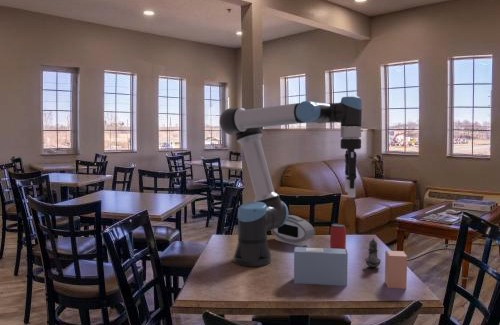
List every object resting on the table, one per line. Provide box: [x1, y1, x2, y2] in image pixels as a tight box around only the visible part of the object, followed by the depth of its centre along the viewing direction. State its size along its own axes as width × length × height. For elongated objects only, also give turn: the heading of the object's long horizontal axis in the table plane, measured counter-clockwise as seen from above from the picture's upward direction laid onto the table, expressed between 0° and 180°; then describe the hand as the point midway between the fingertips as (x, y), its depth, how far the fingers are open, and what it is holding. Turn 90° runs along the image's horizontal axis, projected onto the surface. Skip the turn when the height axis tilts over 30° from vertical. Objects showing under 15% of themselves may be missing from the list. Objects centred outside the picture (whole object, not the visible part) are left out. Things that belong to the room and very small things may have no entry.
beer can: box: [329, 223, 347, 250], centre depth 183 cm, size 7×7×12 cm
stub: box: [384, 250, 408, 290], centre depth 143 cm, size 6×6×11 cm
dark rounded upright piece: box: [364, 238, 382, 271], centre depth 160 cm, size 6×6×12 cm
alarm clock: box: [270, 214, 316, 247], centre depth 199 cm, size 23×6×13 cm, turn 43°
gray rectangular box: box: [293, 246, 349, 287], centre depth 147 cm, size 18×6×12 cm, turn 81°
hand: (349, 194), depth 159 cm, fingers open, 13 cm apart
